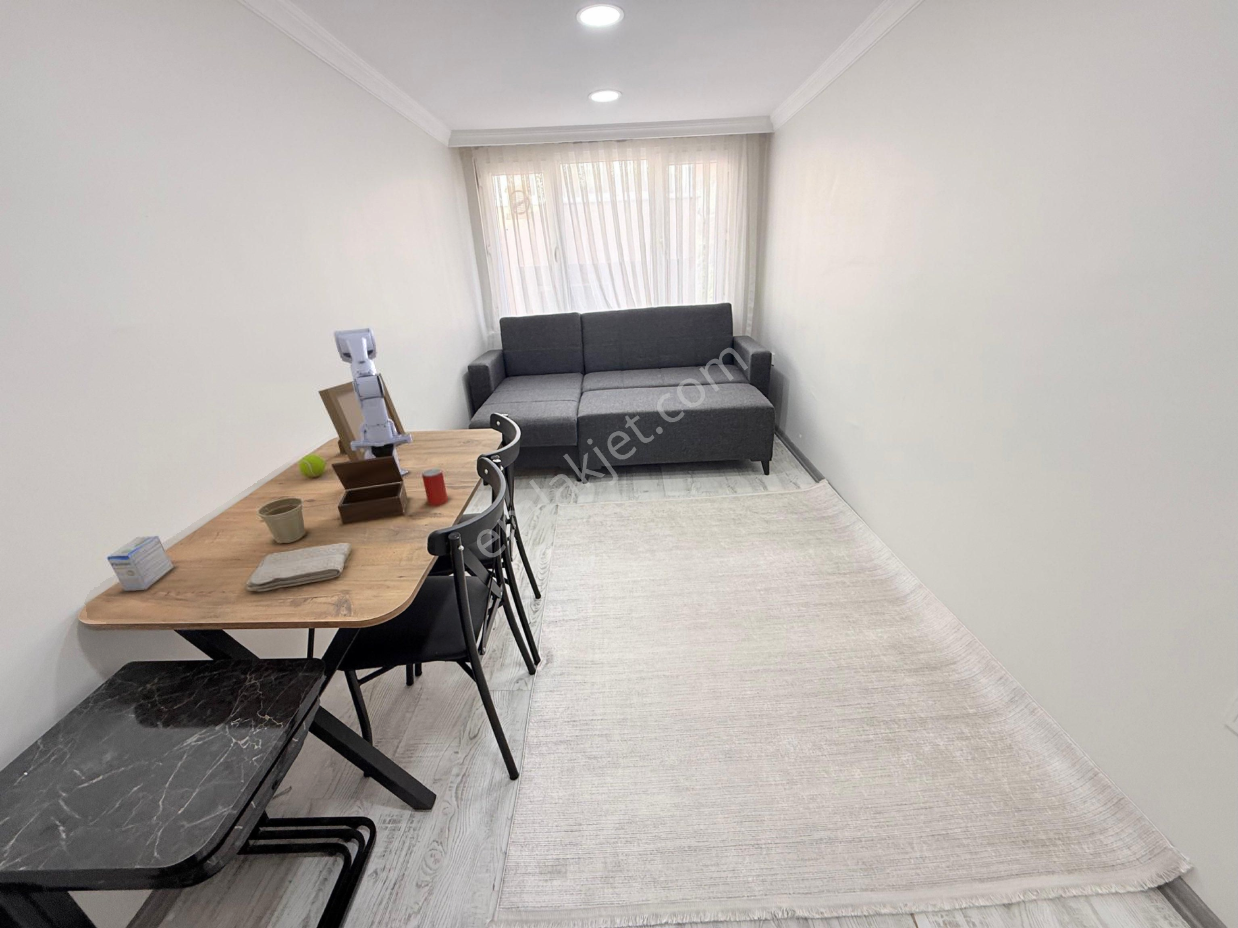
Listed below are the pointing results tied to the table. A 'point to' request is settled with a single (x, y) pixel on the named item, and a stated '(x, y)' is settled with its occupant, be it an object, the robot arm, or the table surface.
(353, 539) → the table surface
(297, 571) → the washcloth
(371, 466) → the lid
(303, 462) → the tennis ball
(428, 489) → the can
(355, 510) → the storage box
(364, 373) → the robot arm
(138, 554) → the medicine box
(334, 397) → the photo frame
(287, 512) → the flower pot
